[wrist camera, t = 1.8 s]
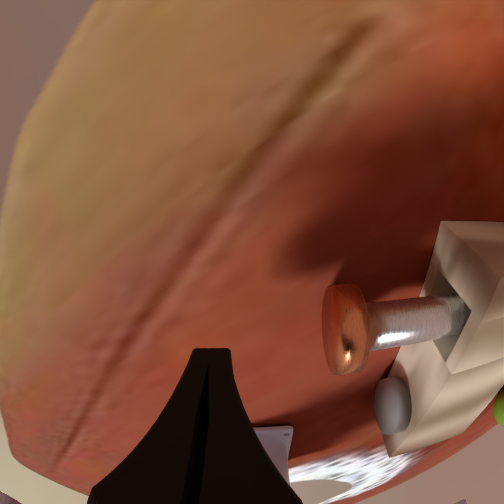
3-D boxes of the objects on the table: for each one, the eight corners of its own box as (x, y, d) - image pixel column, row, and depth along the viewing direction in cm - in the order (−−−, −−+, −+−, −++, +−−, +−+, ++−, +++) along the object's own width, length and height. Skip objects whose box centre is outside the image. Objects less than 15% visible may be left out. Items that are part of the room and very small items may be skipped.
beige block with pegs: (476, 377, 21) (497, 417, 17) (361, 407, 21) (376, 460, 17) (550, 223, 13) (595, 260, 9) (425, 220, 13) (485, 279, 9)
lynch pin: (494, 305, 16) (524, 344, 12) (318, 331, 16) (334, 393, 12) (515, 254, 14) (552, 291, 10) (327, 267, 14) (353, 329, 10)
